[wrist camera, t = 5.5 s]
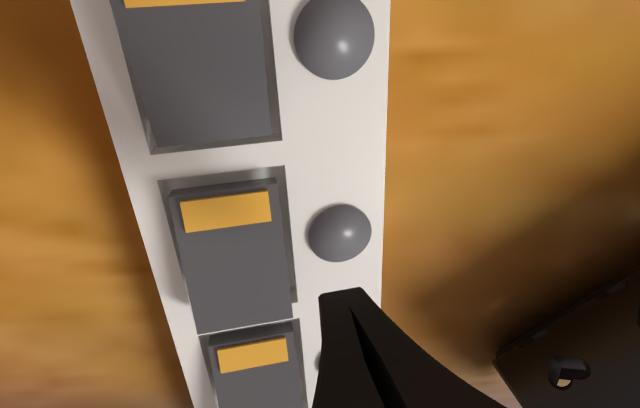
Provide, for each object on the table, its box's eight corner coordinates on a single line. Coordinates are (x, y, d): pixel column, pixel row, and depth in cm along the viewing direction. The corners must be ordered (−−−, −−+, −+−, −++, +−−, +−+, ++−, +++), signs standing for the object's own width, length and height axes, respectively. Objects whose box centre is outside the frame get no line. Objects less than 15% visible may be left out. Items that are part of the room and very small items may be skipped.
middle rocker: (290, 305, 18) (293, 320, 17) (199, 320, 18) (196, 337, 17) (275, 177, 16) (278, 185, 15) (172, 189, 16) (167, 198, 15)
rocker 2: (303, 421, 22) (306, 438, 21) (228, 438, 21) (227, 456, 20) (291, 321, 20) (293, 333, 19) (209, 335, 20) (207, 348, 19)
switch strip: (365, 382, 27) (378, 420, 24) (210, 414, 25) (208, 457, 23) (369, -149, 14) (398, -177, 11) (53, -147, 12) (12, -179, 10)
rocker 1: (269, 120, 15) (272, 137, 15) (159, 131, 15) (157, 150, 14) (251, -67, 11) (254, -58, 10) (99, -62, 11) (90, -52, 10)
